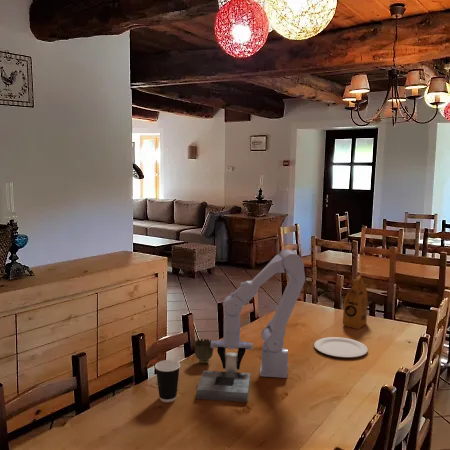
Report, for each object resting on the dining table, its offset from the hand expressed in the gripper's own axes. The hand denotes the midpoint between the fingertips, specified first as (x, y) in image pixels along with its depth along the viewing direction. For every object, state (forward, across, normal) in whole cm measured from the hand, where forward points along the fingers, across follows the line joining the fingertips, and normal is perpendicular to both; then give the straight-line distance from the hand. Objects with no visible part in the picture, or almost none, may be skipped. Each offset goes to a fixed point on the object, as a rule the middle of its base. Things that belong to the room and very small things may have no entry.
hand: (231, 367), depth 168 cm
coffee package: (+2, +51, +59) cm, 78 cm away
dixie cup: (+2, -18, -20) cm, 27 cm away
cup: (+2, -11, +8) cm, 14 cm away
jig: (+2, -1, -12) cm, 12 cm away
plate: (+3, +41, +28) cm, 50 cm away
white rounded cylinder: (+2, 0, 0) cm, 2 cm away
